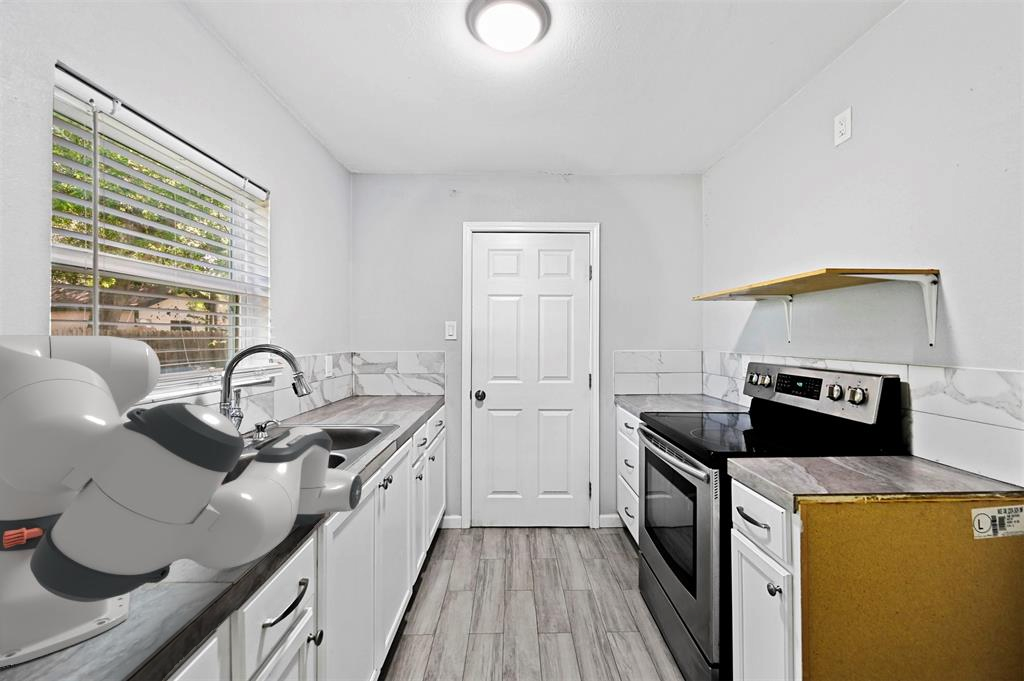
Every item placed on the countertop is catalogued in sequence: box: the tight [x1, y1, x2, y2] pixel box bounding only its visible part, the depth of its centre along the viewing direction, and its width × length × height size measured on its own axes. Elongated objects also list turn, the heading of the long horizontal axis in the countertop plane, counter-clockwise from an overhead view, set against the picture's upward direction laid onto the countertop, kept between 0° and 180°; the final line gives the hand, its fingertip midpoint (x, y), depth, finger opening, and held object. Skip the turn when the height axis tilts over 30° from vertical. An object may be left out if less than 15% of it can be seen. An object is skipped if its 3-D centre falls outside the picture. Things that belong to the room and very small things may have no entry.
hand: (238, 482), depth 101 cm, fingers closed
